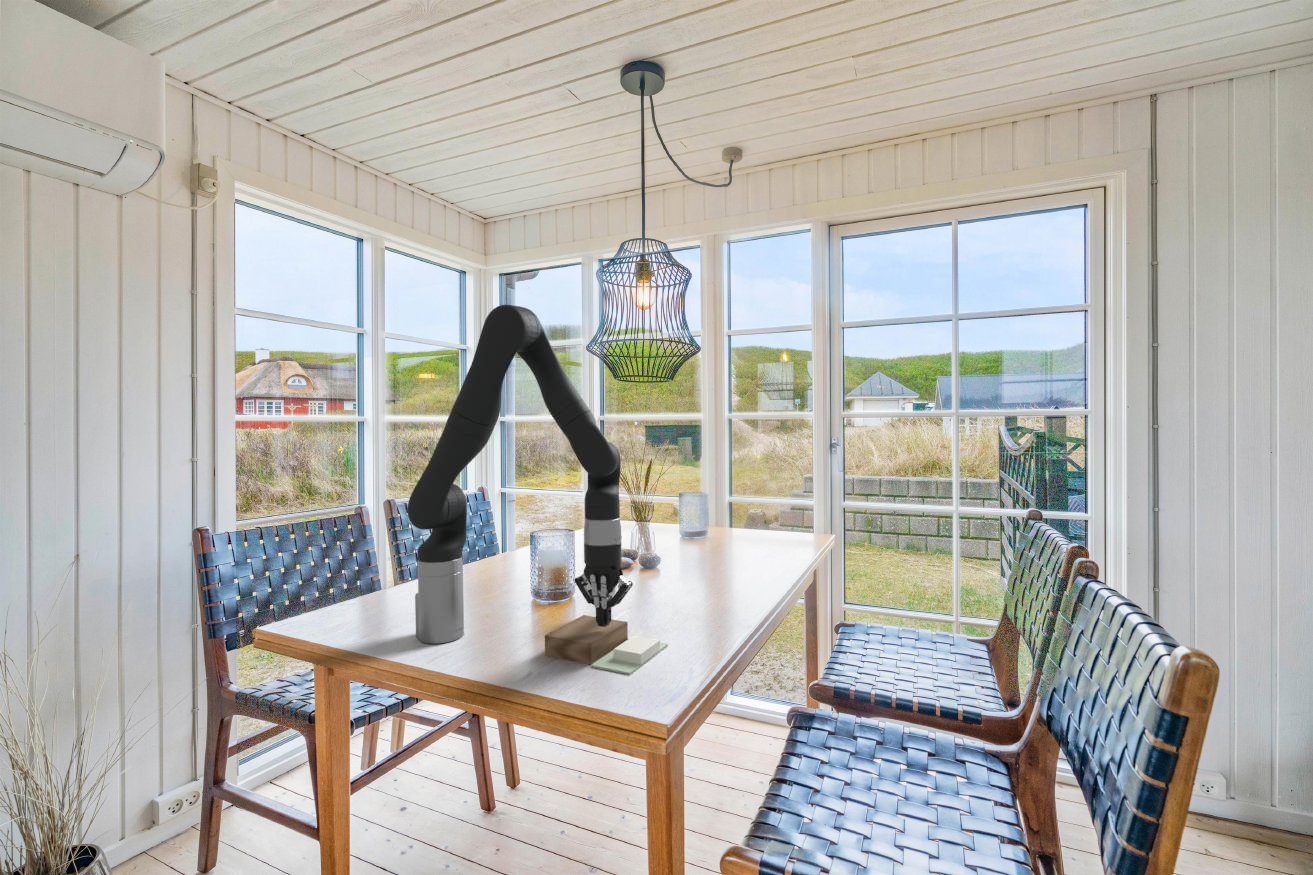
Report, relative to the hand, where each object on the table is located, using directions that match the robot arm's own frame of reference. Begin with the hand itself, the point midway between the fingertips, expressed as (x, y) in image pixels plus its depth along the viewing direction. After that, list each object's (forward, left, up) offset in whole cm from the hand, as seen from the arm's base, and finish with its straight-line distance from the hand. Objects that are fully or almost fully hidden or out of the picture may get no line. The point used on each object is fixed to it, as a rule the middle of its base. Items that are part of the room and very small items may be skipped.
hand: (603, 625), depth 122 cm
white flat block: (+7, 0, -3) cm, 8 cm away
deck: (-4, 0, -5) cm, 7 cm away
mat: (+6, 0, -5) cm, 8 cm away
